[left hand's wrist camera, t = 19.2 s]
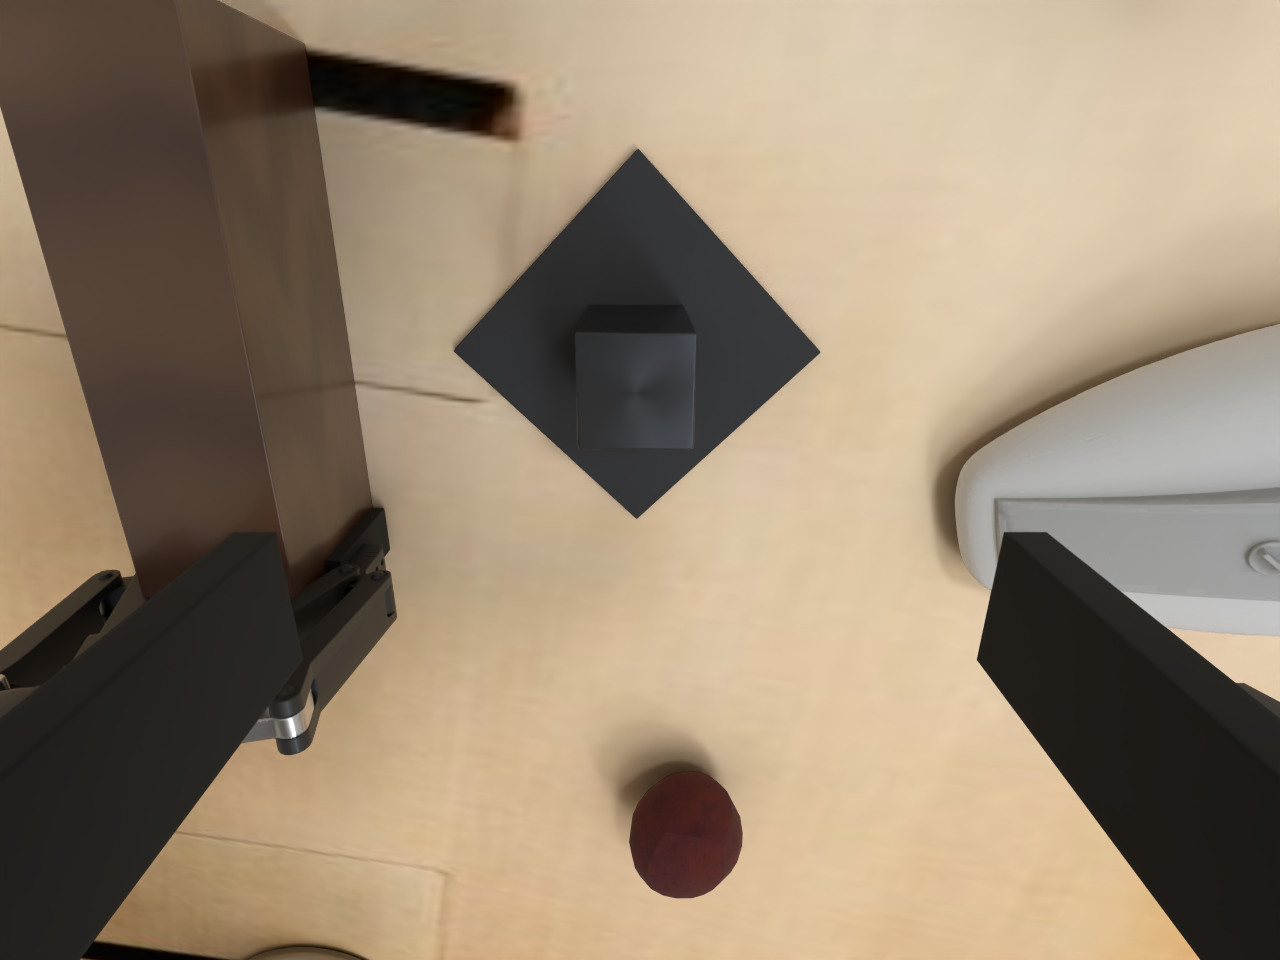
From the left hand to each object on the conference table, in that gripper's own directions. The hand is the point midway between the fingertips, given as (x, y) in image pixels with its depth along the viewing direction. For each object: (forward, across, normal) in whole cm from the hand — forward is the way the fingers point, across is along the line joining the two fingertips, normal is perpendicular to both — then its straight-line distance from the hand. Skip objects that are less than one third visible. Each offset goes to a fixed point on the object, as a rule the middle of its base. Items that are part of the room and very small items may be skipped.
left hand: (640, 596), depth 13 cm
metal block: (+26, 0, -1) cm, 26 cm away
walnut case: (+26, -19, -1) cm, 33 cm away
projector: (+27, +30, -8) cm, 40 cm away
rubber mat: (+27, 0, 0) cm, 27 cm away
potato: (+26, +3, -32) cm, 41 cm away
